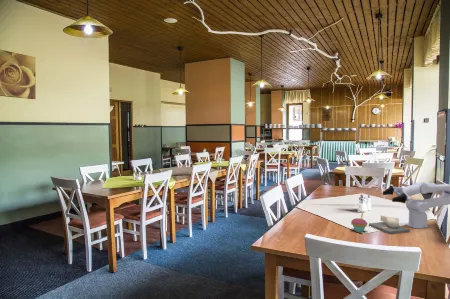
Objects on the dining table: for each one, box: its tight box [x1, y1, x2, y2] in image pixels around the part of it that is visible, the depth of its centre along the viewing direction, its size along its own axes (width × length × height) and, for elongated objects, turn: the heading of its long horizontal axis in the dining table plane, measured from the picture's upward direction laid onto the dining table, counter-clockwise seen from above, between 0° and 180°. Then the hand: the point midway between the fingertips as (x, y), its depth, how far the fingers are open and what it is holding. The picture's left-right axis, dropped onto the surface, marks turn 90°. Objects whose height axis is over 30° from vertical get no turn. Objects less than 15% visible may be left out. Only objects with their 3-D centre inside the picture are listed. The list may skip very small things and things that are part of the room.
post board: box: [368, 221, 411, 235], centre depth 184 cm, size 14×16×2 cm
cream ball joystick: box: [380, 214, 400, 227], centre depth 185 cm, size 12×6×4 cm, turn 17°
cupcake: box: [350, 211, 368, 233], centre depth 180 cm, size 9×8×12 cm
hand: (387, 196), depth 183 cm, fingers open, 7 cm apart
